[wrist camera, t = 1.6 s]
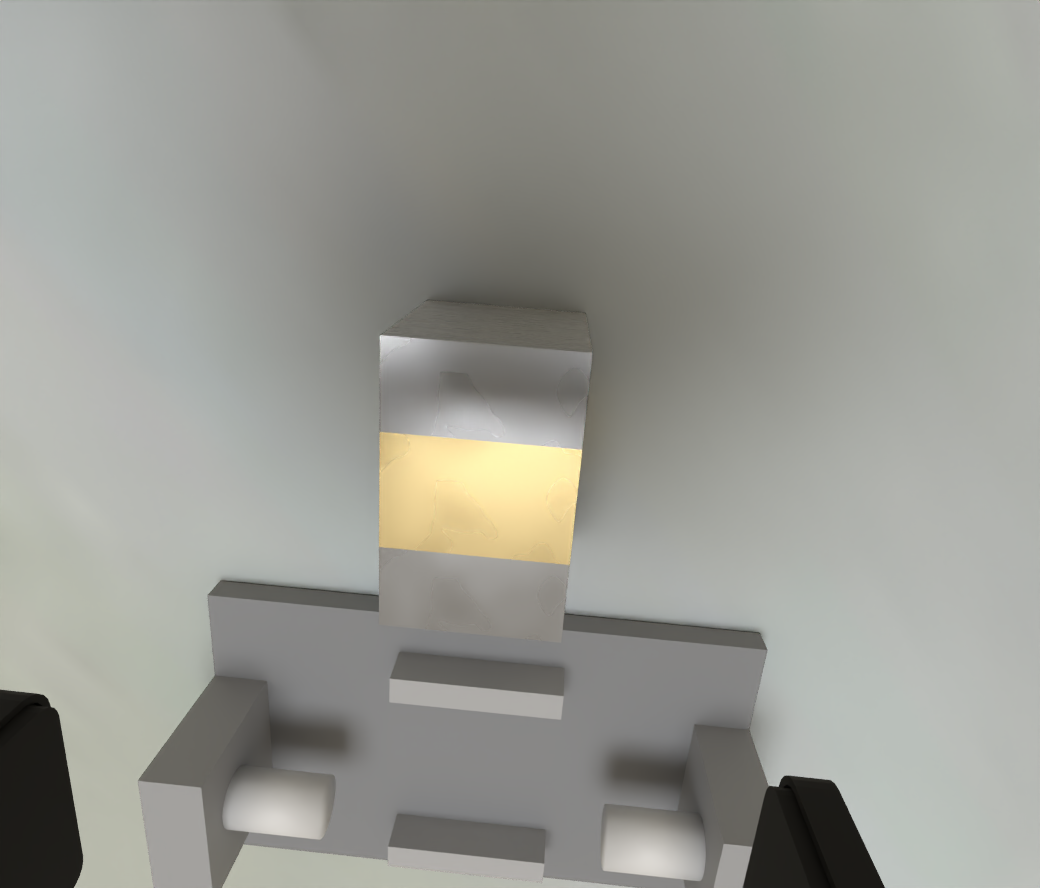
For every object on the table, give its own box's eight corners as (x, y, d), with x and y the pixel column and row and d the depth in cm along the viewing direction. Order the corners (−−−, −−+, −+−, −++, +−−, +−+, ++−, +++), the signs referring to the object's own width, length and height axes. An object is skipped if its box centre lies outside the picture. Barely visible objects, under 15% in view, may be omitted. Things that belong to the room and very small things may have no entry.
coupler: (427, 299, 22) (380, 335, 16) (585, 312, 22) (592, 353, 16) (421, 526, 25) (379, 624, 19) (561, 539, 24) (560, 642, 19)
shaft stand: (241, 822, 30) (165, 968, 24) (220, 580, 26) (123, 688, 20) (705, 872, 29) (739, 1034, 23) (759, 633, 25) (816, 759, 19)
